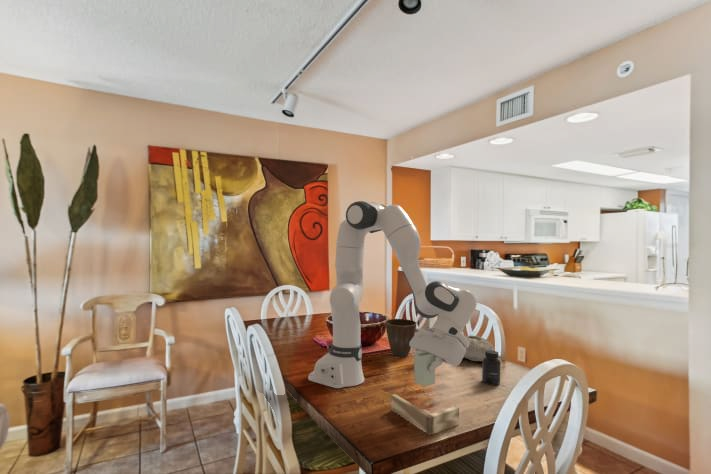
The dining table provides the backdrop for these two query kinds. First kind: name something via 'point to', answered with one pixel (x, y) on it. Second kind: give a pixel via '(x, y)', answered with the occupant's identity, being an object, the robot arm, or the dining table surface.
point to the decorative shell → (477, 348)
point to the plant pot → (400, 335)
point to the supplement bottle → (491, 368)
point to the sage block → (423, 368)
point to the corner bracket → (425, 416)
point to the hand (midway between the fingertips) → (422, 367)
